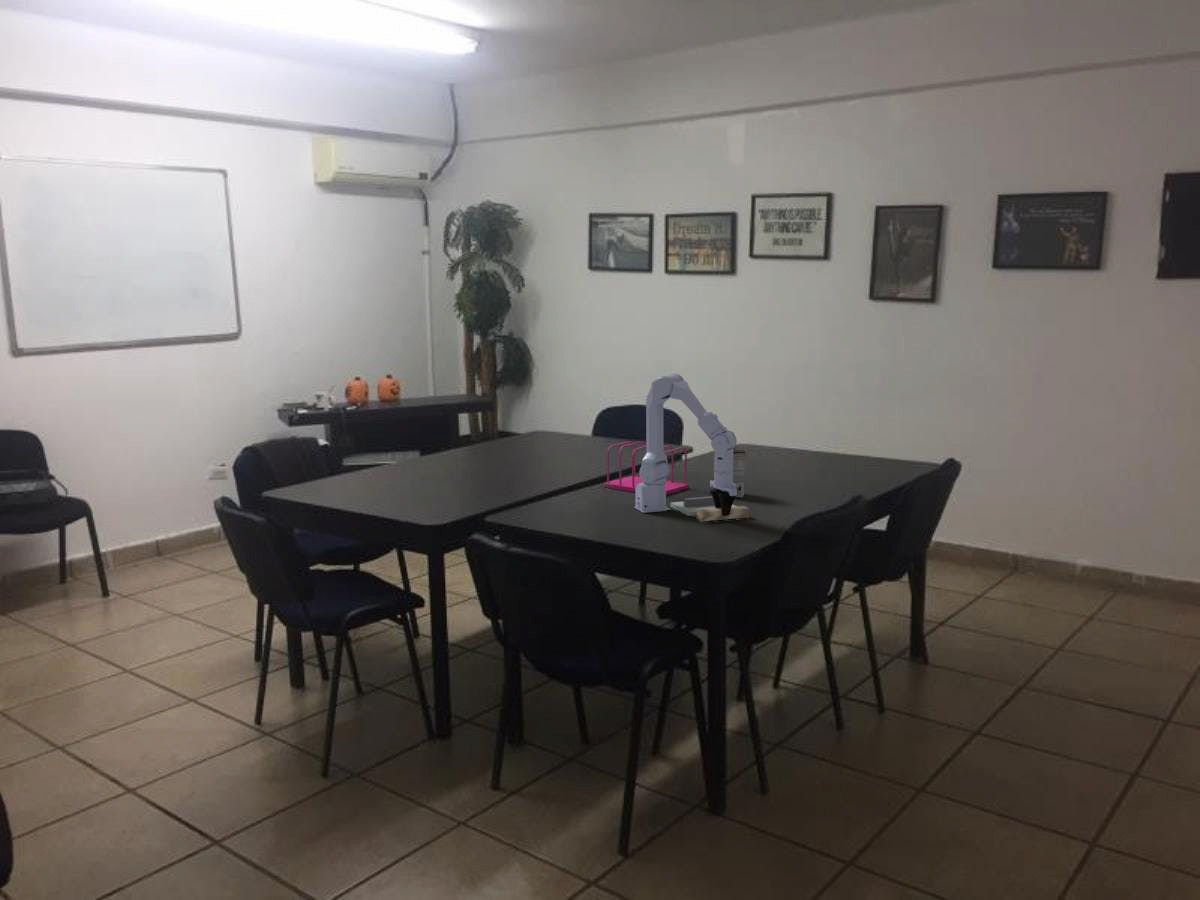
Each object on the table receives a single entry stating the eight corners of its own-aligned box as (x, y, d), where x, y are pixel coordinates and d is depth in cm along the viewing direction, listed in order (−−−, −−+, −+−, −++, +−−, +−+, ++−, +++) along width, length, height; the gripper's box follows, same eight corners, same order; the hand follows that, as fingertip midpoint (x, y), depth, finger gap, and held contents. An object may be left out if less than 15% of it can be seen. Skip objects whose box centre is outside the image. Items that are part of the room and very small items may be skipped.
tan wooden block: (701, 523, 294) (701, 512, 293) (696, 520, 297) (696, 509, 296) (748, 519, 299) (748, 508, 298) (743, 516, 302) (743, 505, 301)
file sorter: (660, 497, 328) (661, 452, 325) (604, 488, 344) (603, 444, 341) (689, 489, 341) (690, 445, 338) (633, 480, 357) (633, 438, 354)
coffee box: (715, 493, 333) (716, 447, 330) (731, 491, 336) (732, 446, 333) (727, 498, 325) (728, 451, 322) (744, 497, 327) (745, 450, 324)
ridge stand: (688, 516, 300) (688, 504, 300) (670, 507, 314) (670, 495, 313) (739, 512, 306) (740, 499, 306) (720, 502, 319) (720, 490, 319)
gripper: (746, 474, 290) (745, 518, 292) (724, 465, 303) (724, 507, 306) (725, 476, 287) (724, 520, 290) (704, 467, 301) (703, 509, 303)
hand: (722, 513), depth 297 cm, fingers open, 4 cm apart
